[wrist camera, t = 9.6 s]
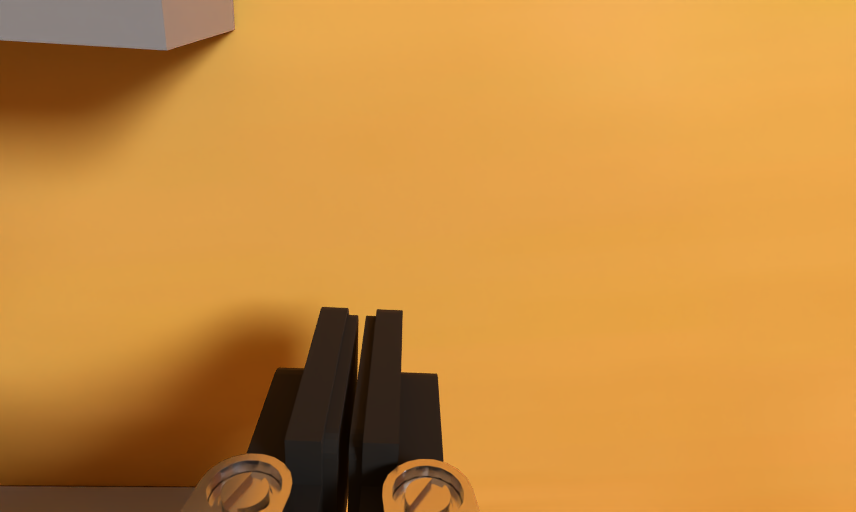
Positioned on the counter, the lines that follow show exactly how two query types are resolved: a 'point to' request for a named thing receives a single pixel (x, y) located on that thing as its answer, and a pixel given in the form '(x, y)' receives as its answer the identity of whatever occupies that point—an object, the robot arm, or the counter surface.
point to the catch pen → (126, 28)
